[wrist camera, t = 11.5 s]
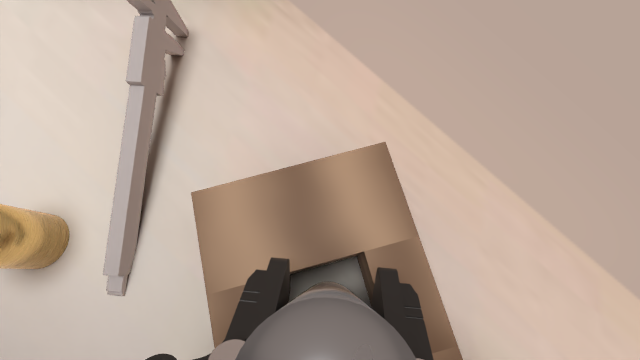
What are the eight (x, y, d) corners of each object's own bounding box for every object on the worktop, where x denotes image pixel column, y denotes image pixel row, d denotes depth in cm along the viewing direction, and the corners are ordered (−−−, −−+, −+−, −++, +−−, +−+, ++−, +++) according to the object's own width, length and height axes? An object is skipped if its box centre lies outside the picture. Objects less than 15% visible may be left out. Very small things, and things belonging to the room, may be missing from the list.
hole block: (269, 492, 17) (248, 568, 12) (219, 208, 21) (191, 192, 17) (463, 432, 17) (507, 485, 13) (374, 167, 22) (385, 141, 17)
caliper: (178, 33, 26) (132, -39, 20) (191, 34, 26) (148, -39, 20) (112, 294, 20) (18, 303, 14) (128, 295, 20) (41, 306, 14)
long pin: (305, 357, 17) (243, 573, 5) (290, 290, 18) (207, 327, 6) (367, 339, 17) (463, 503, 5) (349, 274, 18) (390, 275, 6)
